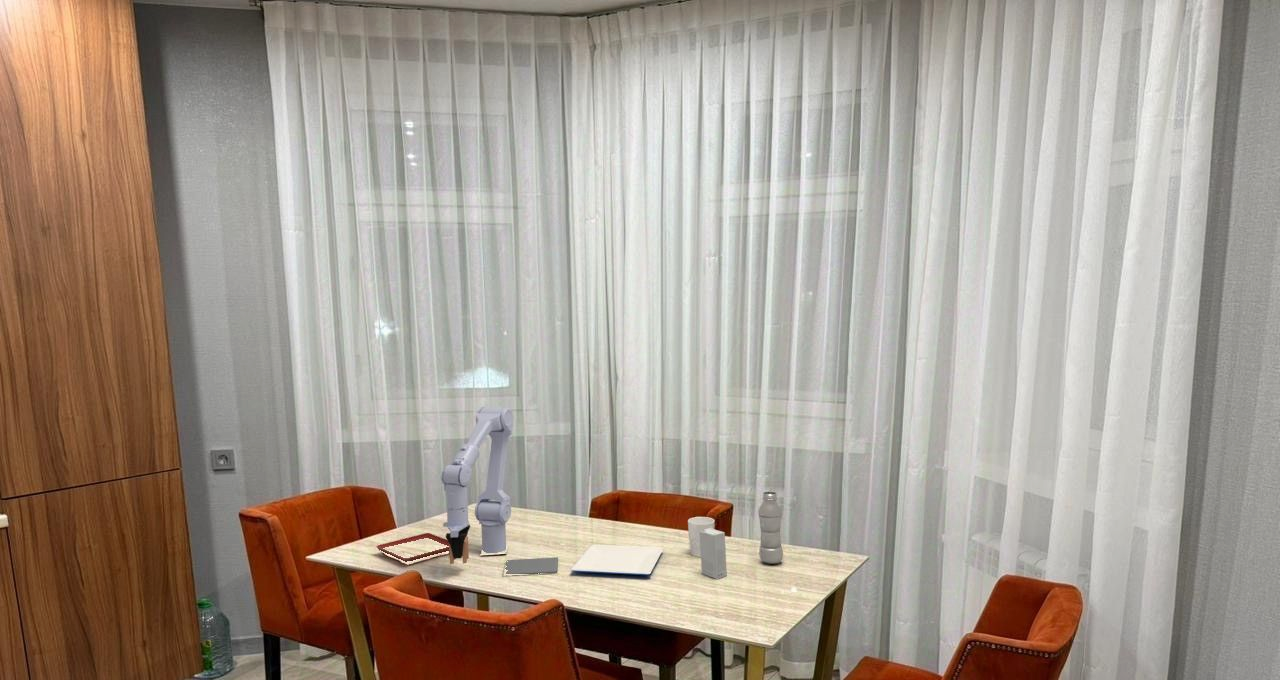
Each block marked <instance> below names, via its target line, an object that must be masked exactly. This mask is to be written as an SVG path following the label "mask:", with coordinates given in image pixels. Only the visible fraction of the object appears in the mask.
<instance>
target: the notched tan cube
mask: <svg viewBox="0 0 1280 680" xmlns="http://www.w3.org/2000/svg"><path fill="white" fill-rule="evenodd" d="M469 554H470V553H469V537H468V536H467V537H465V540H464V545H463V554H462V564H467V563H468V559H470V556H469ZM448 556H449V558H448V559H449V565H453V564H455V561H456V559H454V557H453V554H452V550H451V547H450V544H449V554H448Z"/></svg>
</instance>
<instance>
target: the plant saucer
mask: <svg viewBox="0 0 1280 680" xmlns="http://www.w3.org/2000/svg"><path fill="white" fill-rule="evenodd" d="M424 538H429V539H432V540H434V541H437V542H439V543H441V544H444V545H447V546H449V542H448V540H447V539H446V538H444V537H441V536H439V535H435V534H432V533H431V532H425V533H421V534H417V535H413V536H409V537H405V538H401V539H396V540H393V541H390V542H385V543H382V544H378V545H376V548H377V549H378V550H379V551H380V550H381V551H383V552H385V553H387V554H390V555H392V556H394V557H396V558H398V559H401V560H403V561H405V562H407V561H413V560H416V559H420V558H423V557H427V556H430V555H434V554H438V553H442V552H446V551H449V547H446V548H443V549H439V550H435V551H432V552H428V553H424V554H421V555H417V556H414V557H410V558H403V557H401V556H398V555H396V554H394V553H392V552H389V551H387V550H385V549H383V548H385V547H389V546H394V545H398V544H402V543H407V542H411V541H416V540H419V539H424Z"/></svg>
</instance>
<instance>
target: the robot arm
mask: <svg viewBox="0 0 1280 680" xmlns="http://www.w3.org/2000/svg"><path fill="white" fill-rule="evenodd" d="M514 417H515V416H514V414H513V412H512V410H511V408H509V407H486V406H481V407H479V408H478V410H477V412H476V414H475V426H474V428H473V430H472V432H471V434H470V436H469V439H468V442H467V443H463V444H461V446H460V448H459V450H458V451H457V453H456V455H455V456H454V458H453V460H451V463H450V464H448V465H446V466H445V467H444V468H443V469H442V471H441V476H440V480H441V484H442V485H443V490H444V492H446V494H445V496H446V516H447V517H446V522H443V523H442V526H443V527H444V528H445V527H446V528H447V529H448V530H449V531H450V532H447V533H446V534H445V539H446V540H448V542H449V544H450V547H451V550H452V554H453V557H454V559H455V560H457V559H463V557H462V554H463V545H464V540H465V537H468V533H469V531H470V529H471V525H470V521H469V508H468V507H469V505H468V504H469V503H468V501H469V499H468V484H469V483H470V482H471V480H472V479H471V478H472V473H473V467H474V465H475V463H476V462H477V460H478V457H479V455H480V450H479V448H480V447H481V445H482V444H483V443H484V441H485V439H486V438H487V437H488V436H489V437H490V439H491V444H490V453H489V461H488V471H487V478H486V479H487V480H486V486H485V487H486V488H485V491H483V492H481V494H479V495H478V496H477V502H476V505H475V507H474V516H475V519H476V520H477V521H478V524H479V525H481V549H482V550H483V551H484V552H486V553H498V552H502V551H505V550H506V544H507V534H506V533H507V529H506V527H507V526H506V523H508V521H509V520H510V518H511V515H512V507H511V500H512V499H511V497H510V496H509V495H508V494H507V493H505V491H504V487H505V486H504V485H505V479H506V478H505V476H506V469H507V459H508V452H509V451H508V450H509V449H508V448H509V440H510V436H511V435H512V434H513V427H514ZM491 500H492V501H491ZM493 500H496V501H493Z"/></svg>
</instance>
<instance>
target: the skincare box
mask: <svg viewBox="0 0 1280 680" xmlns="http://www.w3.org/2000/svg"><path fill="white" fill-rule="evenodd" d="M700 550H701V557H700V564H701V565H700V566H701V567H700V568H701V574H702V575H704V576H707V577H710V578H713V579H716V580H718V579H723V578H724V577H727V574H728V571H727V554H726V553H727V552H726V551H727V549H726V533H725V532H724V531H721V530H717V529H715V528H714V529H711V528H708V529H705V530H702V531H700Z"/></svg>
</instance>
